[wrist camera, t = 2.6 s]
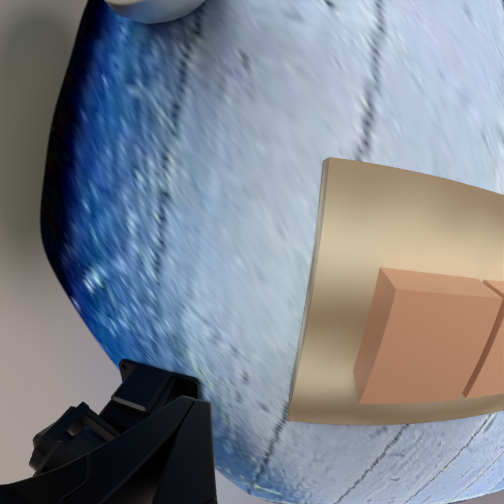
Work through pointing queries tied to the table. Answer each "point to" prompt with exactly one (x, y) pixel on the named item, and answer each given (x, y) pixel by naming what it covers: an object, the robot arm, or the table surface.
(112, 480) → the robot arm
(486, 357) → the tile
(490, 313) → the tile
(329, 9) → the table surface
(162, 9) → the plastic bottle
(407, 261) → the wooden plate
